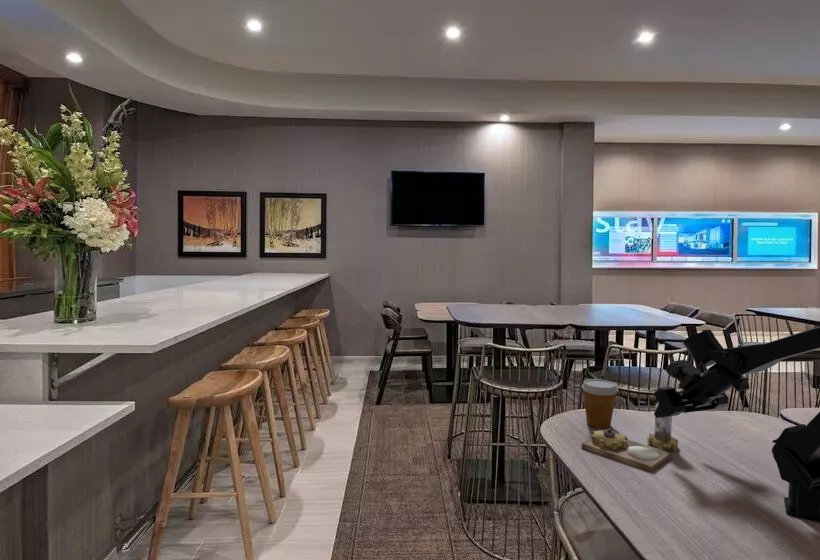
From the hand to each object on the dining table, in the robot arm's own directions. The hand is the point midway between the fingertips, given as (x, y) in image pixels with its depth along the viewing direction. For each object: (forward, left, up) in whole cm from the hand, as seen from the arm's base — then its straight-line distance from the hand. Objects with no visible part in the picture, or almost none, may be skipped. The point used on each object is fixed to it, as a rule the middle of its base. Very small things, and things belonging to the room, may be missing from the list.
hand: (669, 413), depth 121 cm
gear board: (-9, +8, -9) cm, 15 cm away
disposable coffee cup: (+7, +18, -9) cm, 22 cm away
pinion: (+1, +1, -9) cm, 9 cm away
